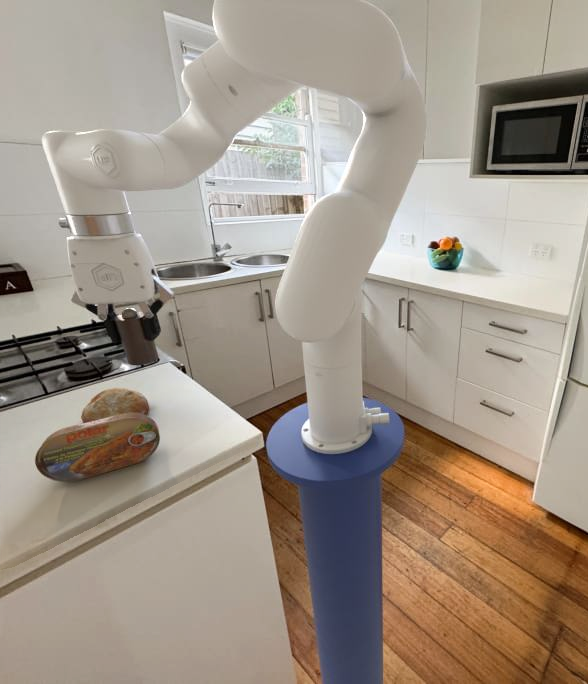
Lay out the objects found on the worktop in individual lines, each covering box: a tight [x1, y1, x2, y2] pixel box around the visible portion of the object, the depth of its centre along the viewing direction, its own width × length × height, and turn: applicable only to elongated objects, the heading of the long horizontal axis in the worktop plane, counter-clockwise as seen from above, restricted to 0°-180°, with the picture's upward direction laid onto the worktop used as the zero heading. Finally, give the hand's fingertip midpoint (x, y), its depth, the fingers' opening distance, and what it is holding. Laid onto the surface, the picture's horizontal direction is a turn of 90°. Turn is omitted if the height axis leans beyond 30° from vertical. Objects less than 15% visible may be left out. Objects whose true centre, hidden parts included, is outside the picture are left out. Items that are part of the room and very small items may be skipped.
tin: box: [34, 413, 161, 483], centre depth 59 cm, size 15×3×8 cm, turn 122°
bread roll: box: [80, 387, 150, 424], centre depth 71 cm, size 10×10×8 cm
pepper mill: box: [114, 307, 159, 366], centre depth 63 cm, size 4×4×9 cm
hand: (137, 337), depth 64 cm, fingers closed on pepper mill, 4 cm apart
